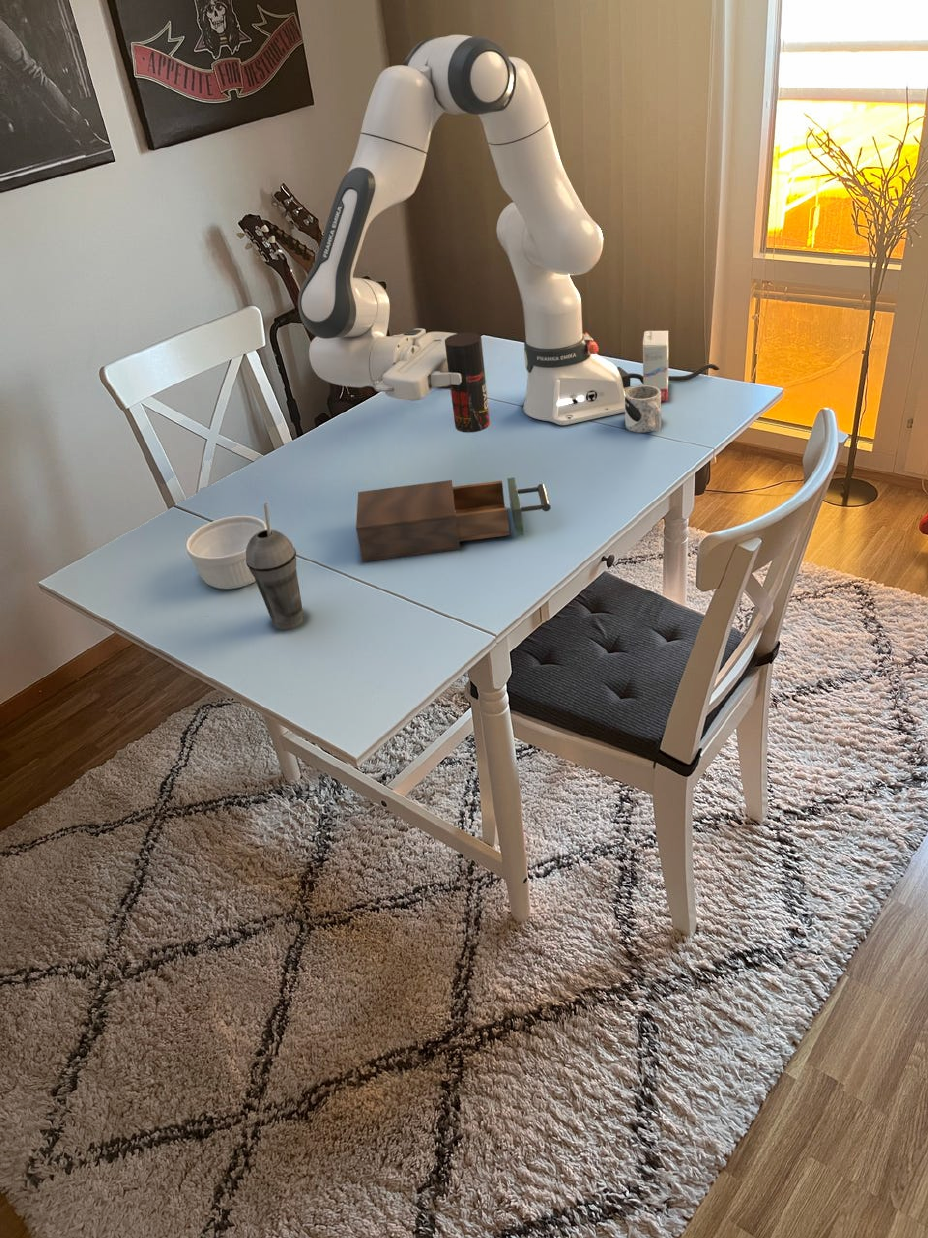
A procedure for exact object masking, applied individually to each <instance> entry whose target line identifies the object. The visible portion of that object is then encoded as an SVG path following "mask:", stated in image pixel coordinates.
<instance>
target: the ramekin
mask: <svg viewBox="0 0 928 1238" xmlns="http://www.w3.org/2000/svg"><path fill="white" fill-rule="evenodd" d="M262 530H267V526H266V522H265V521H264V520H262V519H260V518H258V517H256V516H250V515H233V516H227V517H223V518H220V519H216V520H213V521H211V522H208V523H206V524H204V525H202V526H201V527H199V528H198V529H196V530H195V531H194V532H193V533H191V534H190V536H189V537H188V538H187V541H186V544H185V549H186V552H187V555H188V557H189V558H190V559H191V560H192V563H193V565H194V567H195V569H196V570H197V573H198V574H199V576H200V578H201V579H202V581H203V582H204V583H205V584H207V586H210V587H212V588H215V589H219V590H235V589H240V588H243V587H247V586H249V585H251V584H254V583H256V580H255V578H254V576H253V575H252V573H251V571H250V569H249V567H248V566H247V563H246V548H247V545H248V543H249V541H250V539H251V538H252V537H253V536H254V535H255V534H256V533H258V532H260V531H262Z"/></svg>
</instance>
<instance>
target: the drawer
mask: <svg viewBox="0 0 928 1238" xmlns="http://www.w3.org/2000/svg"><path fill="white" fill-rule="evenodd" d="M506 479H507V488H508V500H509V506H510V511H511V516H512V521H513V526H514V532H515V536H516V537H520V536H521V537H522V536H524V535H525V533H524V525H523V513H524V512H531V511H540V510H542V511H544V512H549V511H550V510H551V509H552V507H551V503H550V499H549V496H548V492H547V488H546V485H545V484H544V483H539V484H538V485H537V486H535V487H526V488H519V489H518V488H517V483H516V478H515V477H508V478H506ZM503 488H504V486H503V481H502V480H495V481H494V480H493V481H487V482H480V483H479V482H478V483H472V484H465V485H457V486H453V495H454V504H455V514H456V522H457V529H458V536H459V542H460V543H461V542H467V541H473V540H474V541H475V540H482V539H489V538H490V539H491V538H497V537H505V536H510V535H511V533H510V522H509V512H508V507H506V505H505V497H504V489H503ZM530 493H538V494H537V495H538V498H539V502H540V504H536V505H527V506H521V501H520V496H519V495H522V494H530Z"/></svg>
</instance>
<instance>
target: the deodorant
mask: <svg viewBox="0 0 928 1238" xmlns="http://www.w3.org/2000/svg"><path fill="white" fill-rule="evenodd" d="M445 348H446V356H447V364H448V372H452V371H453V370H455V371H462V372H463V374H464V376H463V377H464V380H463V382H462V383H461V384H459V385H455V384H450V386H449V387H450V396H451V403H452V404H451V405H452V411H453V420H454V427H455V429H456V431H458V432H461V433H466V434H469V433H478V432H481V431H483V430H486V429H487V428H489V427H490V425H491V421H490V418H491V417H490V410H489V400H488V399H489V398H488V390H487V380H486V370H485V360H484V350H483V342H482V335H480V334H479V333H476V332H459V333H457V334H454V335H452V336H449V337H447V338H446V339H445Z"/></svg>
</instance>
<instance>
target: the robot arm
mask: <svg viewBox="0 0 928 1238" xmlns="http://www.w3.org/2000/svg"><path fill="white" fill-rule="evenodd" d="M442 114H449V115H461V114H462V115H463V114H464V115H465V114H467V115H468V114H470V115H474V116H475V115H476V116H478V117H479V119H480V122H482V127H483V130H484V134H485V137H486V141H487V145H488V148H489V151H490V154H491V159H492V161H493V163H494V168H495V171H496V174H497V177H498V181H499V184H500V186H501V188H502V189H503V191H504V192H505V193H506V195H508V197H509V198H510V200H511V201H512V202H510V203H509V204H508V205H507V206H505V207H504V208H503V210H502V211H501V213H500V215H499V217H498V219H497V221H496V223H497V224H496V237H497V241H498V243H499V244H500V246H501V247H502V249H503V250H504V252H505V254H506V255H507V258H508V260H509V263H510V266H511V269H512V271H513V276H514V278H515V281H516V284H517V288H518V291H519V294H520V295H519V296H520V300H521V304H522V311H523V320H524V332H525V334H524V335H525V340H524V342H523V356H524V366H525V369H526V372H527V374H526V390H525V391H526V392H525V396H524V397H525V398H524V403H523V407H522V408H523V409H522V410H523V412H524V413H525V415H527V416H528V417H530V418H533V419H535V420H539V421H545V422H551V423H553V424H555V425H559V426H568V425H572V424H576V423H577V424H578V423H582V422H585V421H586V422H587V421H591V420H595V419H600V418H604V417H609V416H614V415H618V414H622V413H625V392H626V390H628V389H629V388H631V379H637V380H639V381H640V383H641V385H643V374H640V373H634V372H633V373H632V372H631V373H630V372H629V373H628V372H627V371H625V369H623V368H622V367H620V366H616V365H615V364H614V363H613V362H611V361H610V360H608V359H606V358H604V357H602V356H601V355H599V354H598V352H599V350H600V347H599V346H598V344H597V342H596V341H594V339H593V338H592V337H591V336H590V335H589V334H588V332H585V333H583V319H582V318H583V317H582V299H581V295H580V293H579V290H578V289H577V288H576V286H575V285H574V283H573V280H572V279H571V276H580V275H581V276H582V275H583V274H586V273H588V272H590V271H591V270H592V269H593V268H594V267H595V266H596V265H597V263H598V262H599V260H600V258H601V255H602V253H603V248H604V236H603V232H602V230H601V228H600V226H599V225H598V223H596V221H594V219H593V218H592V217H591V215H589V213H588V212H587V210H586V209H585V207H584V205H583V203H582V202H581V200H580V198H579V196H578V194H577V193H576V191H575V189H574V187H573V185H572V183H571V181H570V179H569V176H568V175H567V172H566V171H565V170H566V169H565V168H564V166H563V163H562V160H561V157H560V154H559V149H558V147H557V143H556V139H555V136H554V132H553V128H552V125H551V120H550V116H549V113H548V109H547V106H546V102H545V100H544V97H543V94H542V90H541V89H540V86H539V84H538V81H537V79H536V77H535V75H534V72H533V71H532V68H531V67H530V65H529V64H528V62H526V60H524V59H522V58H520V57H517V56H516V57H515V56H508V54H507V53H506V51H505V50H504V49H503V48H502V47H501V46H500V45H499V44H498V43H496V42H495V41H494V40H492V39H489V38H487V37H484V36H479V35H477V36H471V35H465V34H450V35H446V36H441V37H440V36H433V37H432V36H431V37H429V38H425V39H423V40H422V41H420V42H419V43H417V44H416V45H414V46H413V48H412V49H410V51H409V52H408V54H407V56H406V58H405V60H404V62H403V63H402V64H401V65H392V66H389V67H386V68H384V70H383V71H381V72H380V74H379V75H378V77H377V79H376V82H375V84H374V87H373V89H372V92H371V95H370V97H369V100H368V103H367V106H366V110H365V113H364V117H363V120H362V125H361V128H360V134H359V137H358V141H357V146H356V149H355V152H354V156H353V158H352V161H351V164H350V165H349V168H348V171H346V174H345V175H344V177H343V178H342V180H341V182H340V184H339V187H338V189H337V192H336V194H335V196H334V199H333V202H332V204H331V205H332V206H331V208H330V211H329V214H328V218H327V221H326V224H325V228H324V232H323V233H322V234H323V235H322V238H321V241H320V244H319V247H318V251H317V255H316V257H315V259H314V263H313V265H312V267H311V269H310V271H309V272H308V274H307V276H306V278H305V279H304V281H303V282H302V285H301V286H300V289H299V291H298V297H297V306H298V307H297V309H298V314H299V317H300V320H301V322H302V324H303V325H304V327H305V328H306V330H308V332H310V333H311V334H312V335H313V336H314V338H313V339H312V340H311V342H310V345H309V351H308V357H309V362H310V365H311V368H312V370H313V372H314V373H315V374H316V376H317V377H318V378H320V380H323V381H324V382H327V383H330V384H333V385H337V386H344V387H349V388H350V387H351V388H364V387H372V388H373V389H374V390H375V391H376V392H381V393H385V395H386V396H387V397H389V398H393V399H398V400H403V401H411V402H415V401H420V400H423V399H424V398H425V397H426V396H427V395H428V394H430V392H432V391H433V390H434V389H435V388H442V387H441V386H446V385H450V384H455V385H459V384H461V383H462V382H463V380H464V377H463V376H464V374H463V372H462V371H455V370H453V371H452V372H448V364H447V356H446V348H445V339H446V338H447V337H449V336H452V335H454V334H458V333H457V332H446V331H427V332H426V329H425V328H420V327H419V328H418V327H417V328H413V329H411V330H409V331H406V332H404V333H400V334H394V335H392V336H389V335H388V331H389V325H390V317H391V301H390V297H389V295H388V293H387V291H386V289H385V288H384V287H383V285H381V284H380V283H379V282H378V281H375V280H374V279H369V278H363V277H355V276H354V273H355V269H356V265H357V263H358V259H359V256H360V253H361V250H362V247H363V244H364V240H365V237H366V234H367V231H368V229H369V226H370V225H371V223H372V222H373V221H374V219H375V218H376V217H377V216H378V215H380V214H381V213H382V212H384V211H385V210H387V209H389V208H391V207H393V206H397V205H399V204H402V203H403V202H405V201H406V200H408V199H409V198H410V197H411V196H412V195H413V194H415V191H416V189H417V188H418V186H419V183H420V180H421V178H422V175H423V173H424V169H425V164H426V160H427V154H428V151H429V147H430V142H431V136H432V132H433V129H434V127H435V125H436V123H437V121H438V120H439V118H440V117H441V116H442ZM709 369H711V370H713V371H719V370H720V367H719V366H717V365H716V364H715V363H706V364H704V365H702V366H700V367H699V368H698V369H697V370H695V371H694V372H692V373H690V374H685V375H668V382H684V381H689V380H692V379H694V378H696V377H697V376H699V375H700V374H702V373H703V372H705V371H706V370H709Z"/></svg>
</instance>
